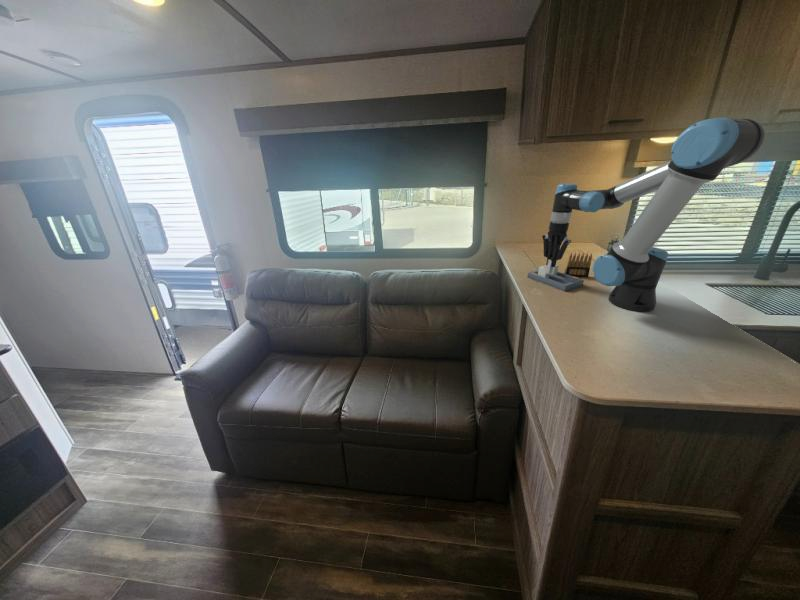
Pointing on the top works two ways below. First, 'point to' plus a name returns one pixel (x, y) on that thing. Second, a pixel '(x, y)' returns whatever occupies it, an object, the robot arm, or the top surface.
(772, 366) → the top surface
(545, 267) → the tab
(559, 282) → the switch bank
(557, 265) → the tab
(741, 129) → the robot arm
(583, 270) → the ammunition clip
